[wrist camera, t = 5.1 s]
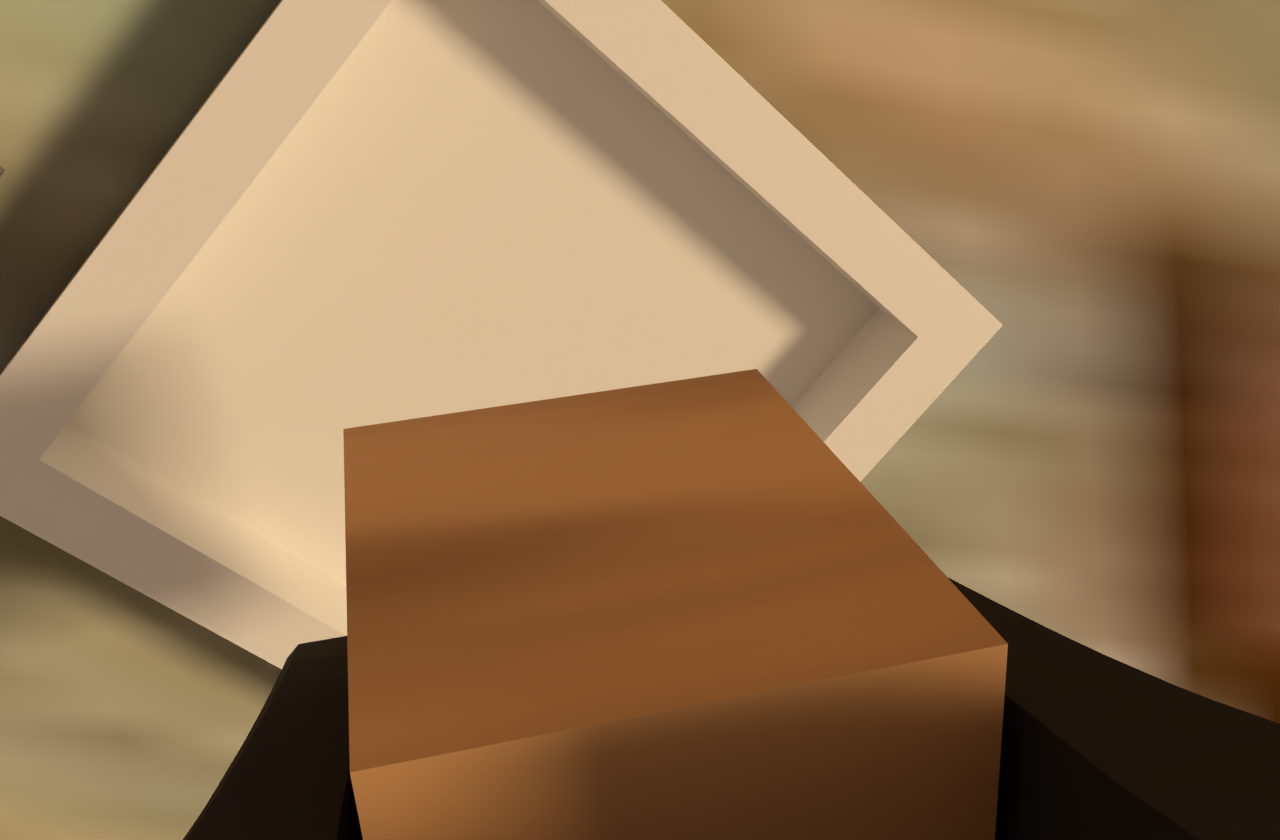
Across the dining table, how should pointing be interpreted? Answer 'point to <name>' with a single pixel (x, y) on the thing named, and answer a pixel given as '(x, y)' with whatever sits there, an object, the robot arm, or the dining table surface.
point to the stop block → (653, 631)
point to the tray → (442, 285)
